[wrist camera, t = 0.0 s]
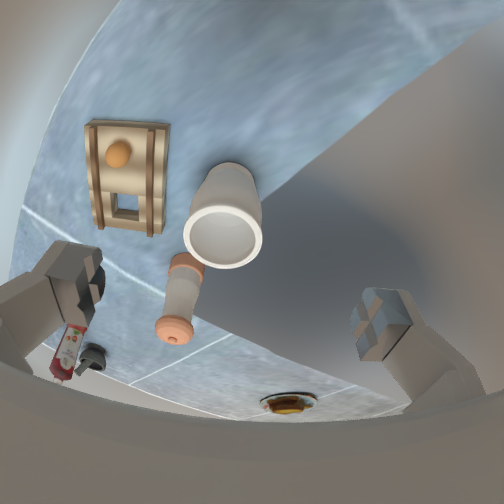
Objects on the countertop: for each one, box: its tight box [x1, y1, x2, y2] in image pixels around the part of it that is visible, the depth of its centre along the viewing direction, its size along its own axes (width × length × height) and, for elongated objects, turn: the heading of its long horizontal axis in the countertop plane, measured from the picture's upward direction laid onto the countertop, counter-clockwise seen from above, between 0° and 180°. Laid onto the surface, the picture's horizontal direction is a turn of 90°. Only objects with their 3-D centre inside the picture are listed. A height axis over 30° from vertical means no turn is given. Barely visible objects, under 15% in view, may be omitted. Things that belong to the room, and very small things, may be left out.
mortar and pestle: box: [74, 344, 106, 376], centre depth 86 cm, size 11×9×12 cm
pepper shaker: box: [155, 253, 205, 345], centre depth 55 cm, size 7×7×19 cm
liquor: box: [49, 323, 87, 385], centre depth 69 cm, size 7×7×28 cm
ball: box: [105, 143, 130, 168], centre depth 40 cm, size 4×4×4 cm
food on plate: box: [260, 394, 318, 415], centre depth 115 cm, size 25×25×7 cm
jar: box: [183, 162, 262, 269], centre depth 44 cm, size 11×10×15 cm
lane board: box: [84, 120, 170, 237], centre depth 46 cm, size 20×14×4 cm
